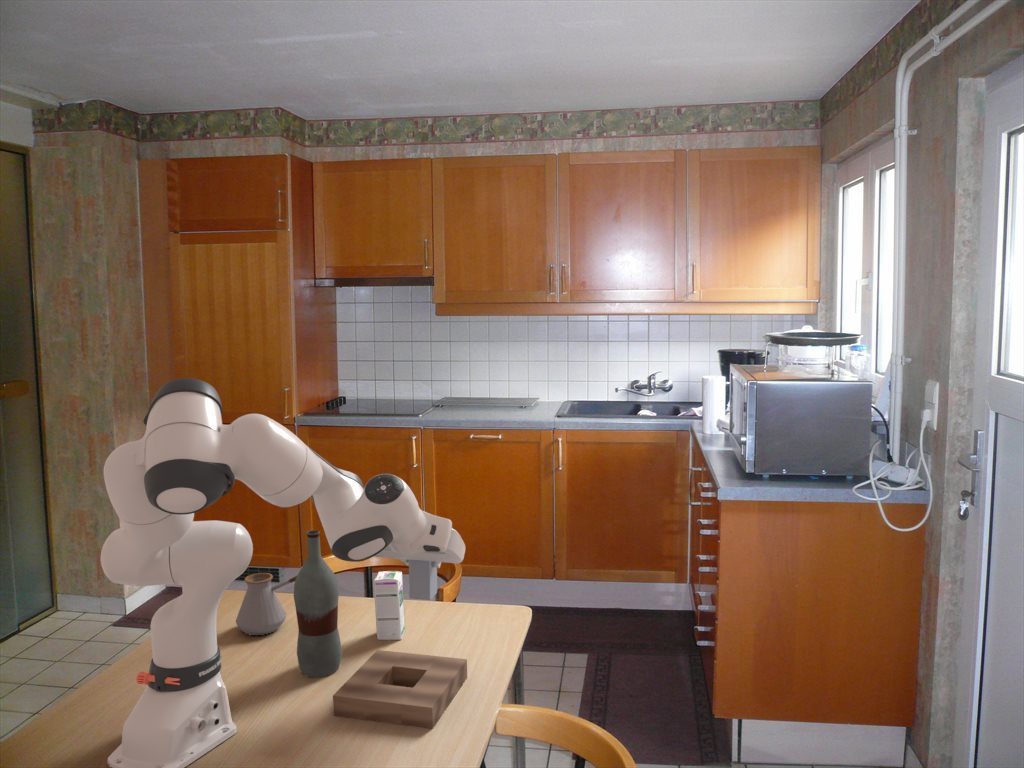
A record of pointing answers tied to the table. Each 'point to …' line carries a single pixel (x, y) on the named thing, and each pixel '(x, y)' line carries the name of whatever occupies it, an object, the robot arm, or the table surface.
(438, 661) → the socket block
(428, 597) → the peg
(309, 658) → the bottle
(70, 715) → the table surface
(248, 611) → the coffee pot
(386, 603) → the syrup box
